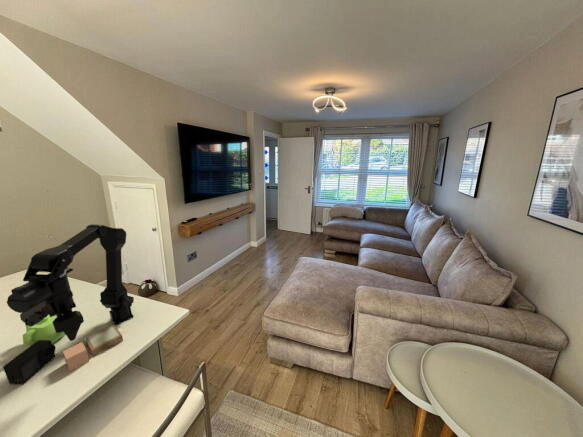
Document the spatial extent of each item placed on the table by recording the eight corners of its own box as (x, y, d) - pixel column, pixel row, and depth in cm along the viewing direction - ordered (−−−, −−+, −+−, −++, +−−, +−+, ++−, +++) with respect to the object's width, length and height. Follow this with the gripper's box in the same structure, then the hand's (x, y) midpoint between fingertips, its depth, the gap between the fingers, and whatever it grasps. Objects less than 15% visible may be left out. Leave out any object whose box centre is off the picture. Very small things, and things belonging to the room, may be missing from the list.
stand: (114, 329, 95) (113, 324, 94) (123, 340, 90) (122, 334, 89) (86, 343, 88) (84, 337, 87) (93, 355, 83) (91, 349, 82)
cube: (85, 353, 84) (82, 342, 82) (89, 361, 81) (86, 349, 79) (66, 363, 80) (62, 351, 78) (69, 371, 77) (66, 359, 75)
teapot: (26, 357, 81) (18, 333, 79) (28, 338, 89) (21, 316, 86) (73, 339, 89) (67, 317, 86) (71, 323, 97) (65, 303, 94)
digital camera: (27, 385, 72) (20, 367, 70) (9, 384, 72) (2, 366, 70) (59, 356, 82) (54, 340, 80) (43, 356, 82) (38, 339, 80)
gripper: (15, 290, 72) (29, 333, 76) (22, 318, 61) (38, 365, 65) (64, 276, 80) (74, 315, 85) (78, 298, 69) (89, 341, 74)
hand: (69, 333), depth 77 cm, fingers open, 9 cm apart
